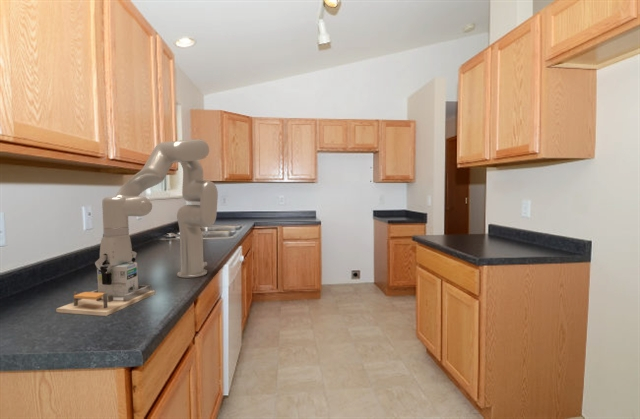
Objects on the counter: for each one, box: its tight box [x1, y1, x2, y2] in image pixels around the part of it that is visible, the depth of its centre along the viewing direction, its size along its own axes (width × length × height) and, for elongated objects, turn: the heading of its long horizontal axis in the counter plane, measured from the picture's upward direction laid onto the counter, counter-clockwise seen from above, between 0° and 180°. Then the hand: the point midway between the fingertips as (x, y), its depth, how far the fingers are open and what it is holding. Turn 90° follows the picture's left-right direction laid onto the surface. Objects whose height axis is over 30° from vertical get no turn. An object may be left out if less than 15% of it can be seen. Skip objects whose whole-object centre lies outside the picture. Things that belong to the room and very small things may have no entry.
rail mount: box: [56, 284, 156, 317], centre depth 112 cm, size 22×18×6 cm
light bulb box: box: [96, 261, 139, 297], centre depth 116 cm, size 11×7×11 cm, turn 89°
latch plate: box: [73, 291, 104, 300], centre depth 105 cm, size 4×8×1 cm, turn 80°
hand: (118, 280), depth 116 cm, fingers open, 9 cm apart
